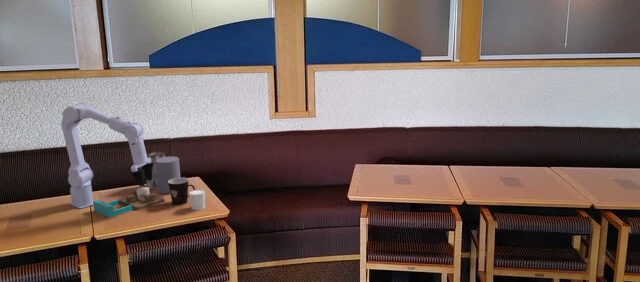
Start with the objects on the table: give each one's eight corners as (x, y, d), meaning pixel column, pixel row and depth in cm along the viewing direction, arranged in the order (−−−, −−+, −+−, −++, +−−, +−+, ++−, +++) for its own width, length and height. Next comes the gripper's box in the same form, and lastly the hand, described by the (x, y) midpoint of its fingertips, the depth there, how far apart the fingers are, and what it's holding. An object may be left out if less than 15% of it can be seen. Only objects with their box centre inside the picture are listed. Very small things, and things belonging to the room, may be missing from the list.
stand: (144, 194, 240) (142, 182, 239) (164, 201, 230) (163, 189, 229) (117, 202, 230) (116, 190, 229) (137, 210, 220) (136, 197, 219)
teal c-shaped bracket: (117, 204, 228) (116, 194, 227) (132, 210, 221) (131, 200, 220) (94, 211, 220) (93, 201, 219) (108, 217, 213) (107, 207, 212)
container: (154, 193, 240) (151, 162, 237) (164, 186, 250) (161, 156, 247) (176, 194, 239) (173, 162, 235) (184, 187, 249) (182, 156, 245)
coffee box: (156, 183, 256) (153, 151, 252) (168, 183, 255) (165, 151, 251) (146, 189, 247) (143, 156, 243) (159, 189, 246) (156, 156, 242)
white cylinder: (186, 208, 221) (184, 193, 219) (198, 203, 227) (197, 188, 225) (197, 211, 217) (196, 195, 216) (209, 206, 223) (208, 191, 221)
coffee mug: (166, 202, 229) (164, 180, 226) (183, 197, 235) (181, 176, 232) (180, 209, 221) (178, 186, 218) (197, 203, 226) (196, 181, 224)
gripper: (139, 155, 212) (147, 187, 215) (154, 146, 226) (161, 176, 229) (123, 157, 213) (131, 189, 216) (139, 148, 227) (146, 178, 230)
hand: (145, 182), depth 222 cm, fingers open, 7 cm apart
